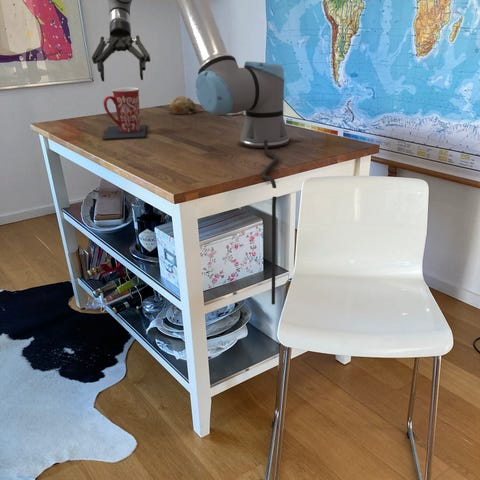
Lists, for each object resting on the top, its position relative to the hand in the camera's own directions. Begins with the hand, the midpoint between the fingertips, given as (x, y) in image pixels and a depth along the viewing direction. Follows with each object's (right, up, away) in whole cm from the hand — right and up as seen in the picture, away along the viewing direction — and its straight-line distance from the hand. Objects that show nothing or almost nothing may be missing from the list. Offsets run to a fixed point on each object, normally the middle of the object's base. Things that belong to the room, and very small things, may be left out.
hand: (122, 78), depth 182 cm
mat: (+1, -19, +1) cm, 19 cm away
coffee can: (+37, -1, +29) cm, 47 cm away
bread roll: (+18, 0, +32) cm, 36 cm away
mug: (+1, -19, +1) cm, 19 cm away
